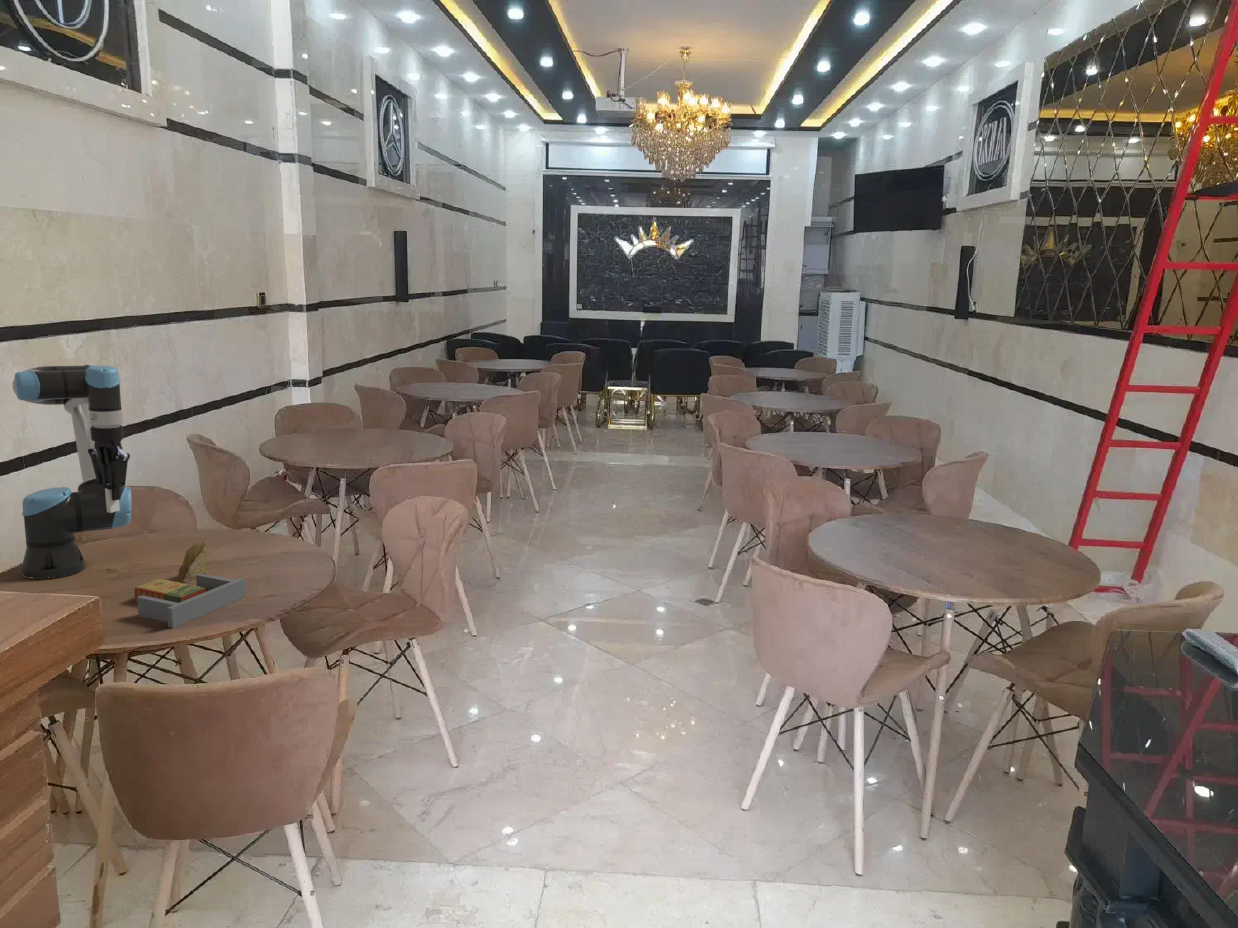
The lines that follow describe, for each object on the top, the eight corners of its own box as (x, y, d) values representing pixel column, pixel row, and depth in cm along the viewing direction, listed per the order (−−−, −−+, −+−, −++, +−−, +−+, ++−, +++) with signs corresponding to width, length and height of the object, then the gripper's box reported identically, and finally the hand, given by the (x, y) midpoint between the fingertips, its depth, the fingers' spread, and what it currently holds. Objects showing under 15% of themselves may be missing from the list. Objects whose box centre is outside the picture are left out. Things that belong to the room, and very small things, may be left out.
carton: (160, 592, 234) (159, 577, 233) (207, 601, 229) (206, 586, 228) (134, 602, 226) (133, 586, 225) (182, 612, 221) (181, 596, 220)
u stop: (131, 618, 215) (130, 599, 214) (207, 588, 237) (206, 571, 236) (173, 627, 210) (171, 608, 209) (246, 596, 232) (245, 578, 231)
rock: (182, 579, 237) (217, 566, 244) (168, 552, 238) (204, 540, 245) (173, 592, 244) (207, 579, 251) (160, 566, 245) (194, 554, 252)
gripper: (75, 424, 226) (83, 510, 231) (111, 430, 221) (118, 518, 227) (102, 420, 233) (108, 504, 238) (137, 426, 228) (143, 511, 234)
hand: (113, 511), depth 233 cm, fingers closed
